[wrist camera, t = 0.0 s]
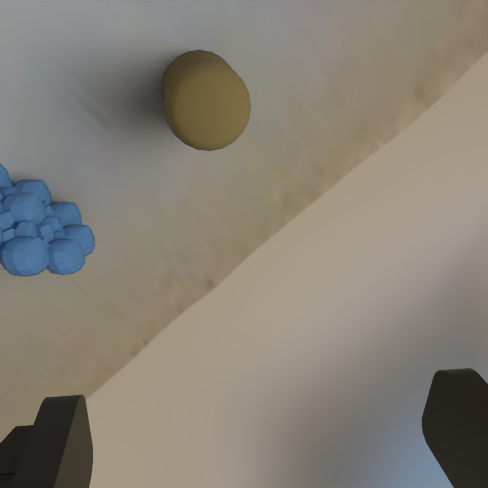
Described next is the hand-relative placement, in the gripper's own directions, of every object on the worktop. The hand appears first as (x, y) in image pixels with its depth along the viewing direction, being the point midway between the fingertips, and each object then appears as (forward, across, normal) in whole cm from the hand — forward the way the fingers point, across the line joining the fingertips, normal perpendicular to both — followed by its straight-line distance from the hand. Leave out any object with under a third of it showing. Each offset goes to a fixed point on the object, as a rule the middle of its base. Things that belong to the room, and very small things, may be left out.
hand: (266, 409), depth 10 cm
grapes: (+30, +14, +5) cm, 33 cm away
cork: (+30, 0, -4) cm, 30 cm away
